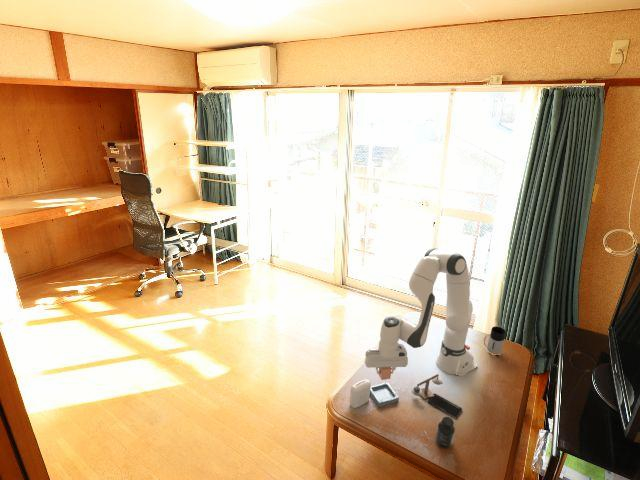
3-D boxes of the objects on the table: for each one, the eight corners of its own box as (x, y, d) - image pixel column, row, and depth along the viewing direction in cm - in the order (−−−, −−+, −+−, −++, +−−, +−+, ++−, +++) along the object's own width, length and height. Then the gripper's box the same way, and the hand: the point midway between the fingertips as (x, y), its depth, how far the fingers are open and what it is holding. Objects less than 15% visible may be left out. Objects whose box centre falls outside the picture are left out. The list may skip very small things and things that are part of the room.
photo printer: (364, 395, 184) (366, 375, 179) (370, 401, 180) (372, 381, 176) (348, 404, 178) (349, 383, 174) (353, 410, 175) (355, 389, 170)
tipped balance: (435, 386, 191) (438, 369, 187) (442, 394, 186) (446, 377, 182) (408, 394, 186) (410, 376, 181) (415, 402, 180) (417, 385, 176)
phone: (433, 392, 186) (463, 408, 177) (433, 394, 186) (462, 410, 177) (426, 401, 180) (456, 418, 171) (426, 403, 181) (456, 420, 172)
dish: (386, 385, 190) (387, 381, 190) (398, 401, 181) (398, 397, 180) (367, 390, 187) (368, 386, 186) (378, 407, 177) (379, 403, 176)
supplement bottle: (455, 446, 158) (459, 425, 154) (442, 450, 156) (446, 429, 152) (444, 433, 164) (449, 412, 160) (432, 437, 162) (436, 417, 158)
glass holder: (504, 354, 217) (510, 332, 212) (486, 359, 212) (491, 338, 207) (493, 345, 225) (498, 324, 219) (475, 350, 220) (480, 329, 214)
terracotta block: (386, 372, 183) (387, 362, 180) (390, 378, 178) (391, 368, 176) (378, 373, 181) (379, 363, 179) (381, 380, 177) (382, 370, 175)
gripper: (367, 354, 170) (364, 377, 175) (410, 353, 172) (406, 377, 177) (364, 345, 176) (362, 368, 181) (406, 344, 178) (403, 367, 183)
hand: (384, 372), depth 179 cm, fingers closed on terracotta block, 5 cm apart
